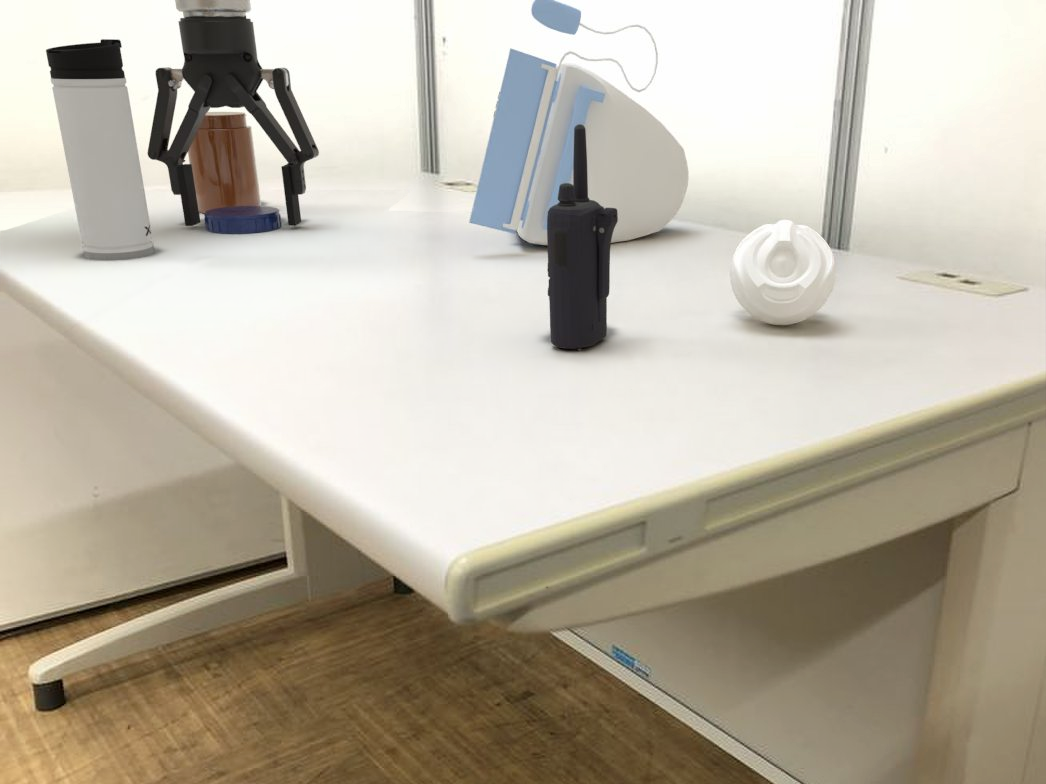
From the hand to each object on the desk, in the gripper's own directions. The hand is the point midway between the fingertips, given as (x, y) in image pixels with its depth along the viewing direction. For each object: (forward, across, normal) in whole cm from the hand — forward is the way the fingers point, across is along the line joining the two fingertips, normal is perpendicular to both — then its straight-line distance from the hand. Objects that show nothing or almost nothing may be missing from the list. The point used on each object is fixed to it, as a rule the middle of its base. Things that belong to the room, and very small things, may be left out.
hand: (244, 224), depth 122 cm
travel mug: (+1, +6, +19) cm, 20 cm away
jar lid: (-1, 0, 0) cm, 1 cm away
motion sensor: (+1, -55, +45) cm, 71 cm away
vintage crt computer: (+1, -38, +6) cm, 38 cm away
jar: (0, +6, -14) cm, 15 cm away
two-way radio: (+1, -40, +51) cm, 65 cm away
